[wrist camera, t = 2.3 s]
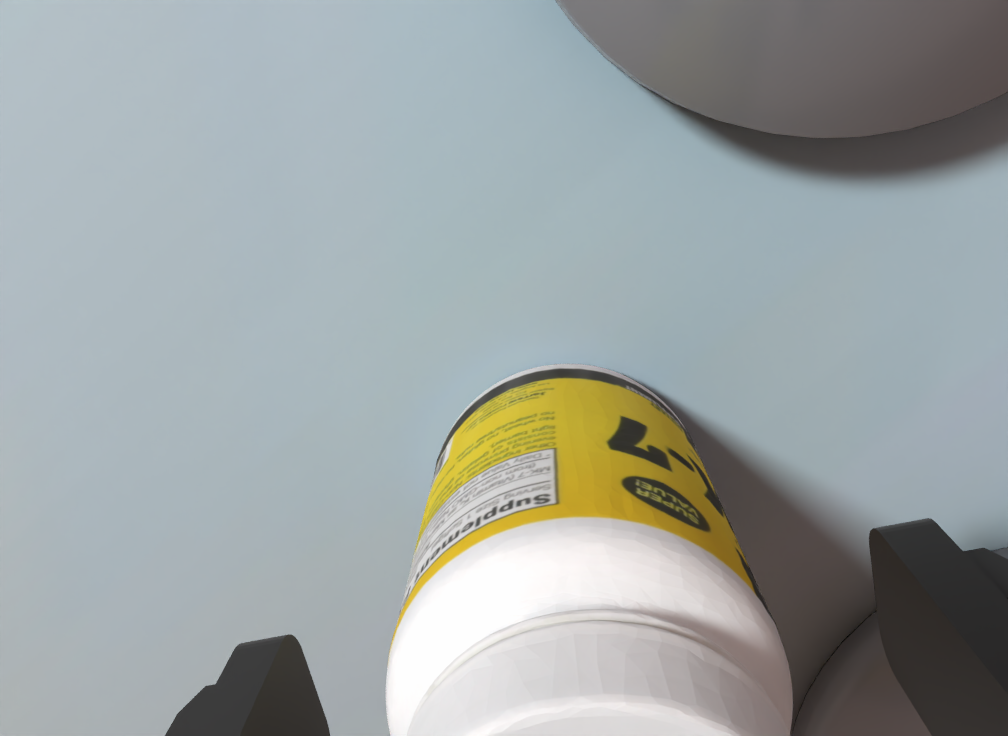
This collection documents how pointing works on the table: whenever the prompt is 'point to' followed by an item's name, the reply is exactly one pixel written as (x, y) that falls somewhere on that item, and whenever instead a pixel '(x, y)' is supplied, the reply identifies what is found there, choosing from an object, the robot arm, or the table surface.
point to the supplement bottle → (580, 578)
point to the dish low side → (860, 691)
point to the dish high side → (807, 59)
